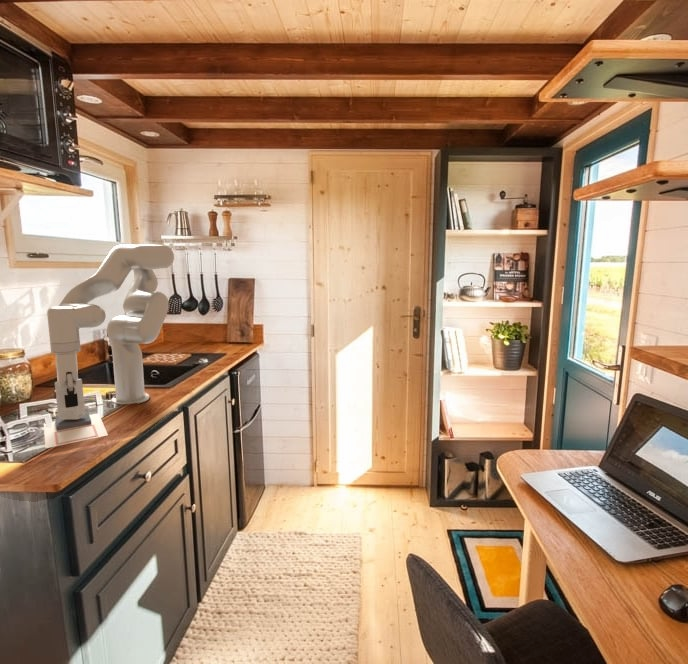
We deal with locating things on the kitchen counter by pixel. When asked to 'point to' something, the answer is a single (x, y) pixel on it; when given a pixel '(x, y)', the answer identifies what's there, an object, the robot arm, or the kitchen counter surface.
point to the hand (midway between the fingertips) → (70, 402)
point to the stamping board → (74, 432)
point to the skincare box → (71, 411)
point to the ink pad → (72, 422)
